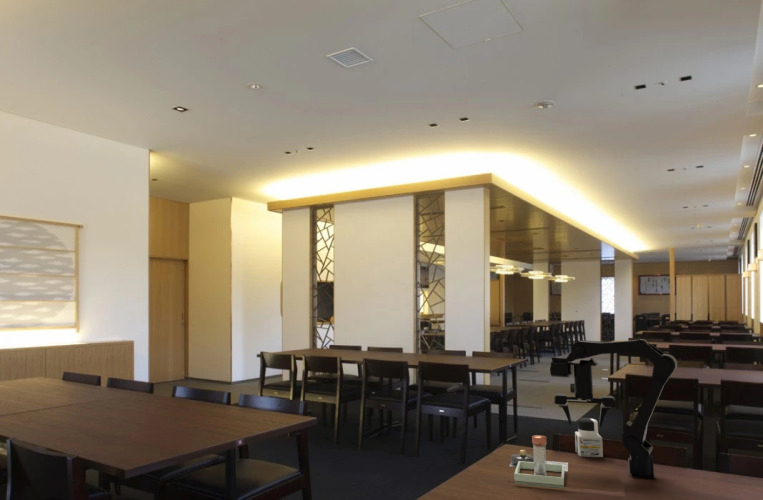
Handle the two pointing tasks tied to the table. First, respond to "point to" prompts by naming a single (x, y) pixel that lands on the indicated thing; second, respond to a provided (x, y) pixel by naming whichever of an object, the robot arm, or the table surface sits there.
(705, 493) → the table surface
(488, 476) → the table surface
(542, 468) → the glass spice jar
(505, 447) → the table surface
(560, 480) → the tray
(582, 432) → the container
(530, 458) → the plate
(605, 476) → the table surface
